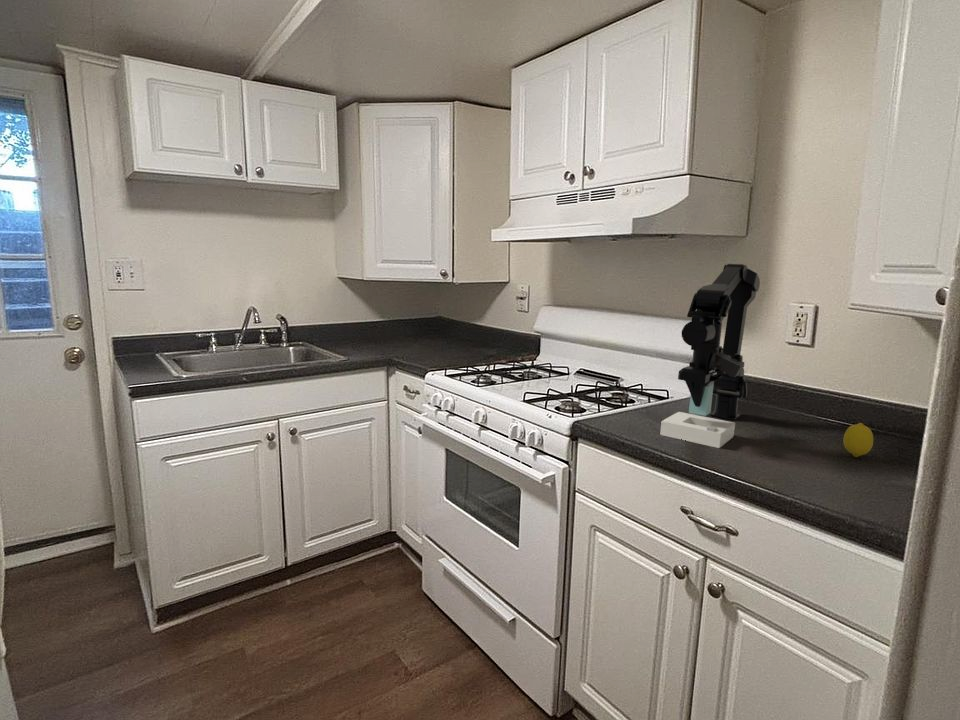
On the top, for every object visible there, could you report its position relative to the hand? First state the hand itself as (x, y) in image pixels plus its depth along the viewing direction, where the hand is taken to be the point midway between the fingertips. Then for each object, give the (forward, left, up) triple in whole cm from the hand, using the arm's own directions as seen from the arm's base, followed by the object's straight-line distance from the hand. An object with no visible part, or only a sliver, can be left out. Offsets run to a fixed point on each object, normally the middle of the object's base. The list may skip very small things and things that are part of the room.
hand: (700, 404), depth 136 cm
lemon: (-10, +32, -8) cm, 34 cm away
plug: (0, 0, -2) cm, 2 cm away
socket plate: (0, 0, -8) cm, 8 cm away
